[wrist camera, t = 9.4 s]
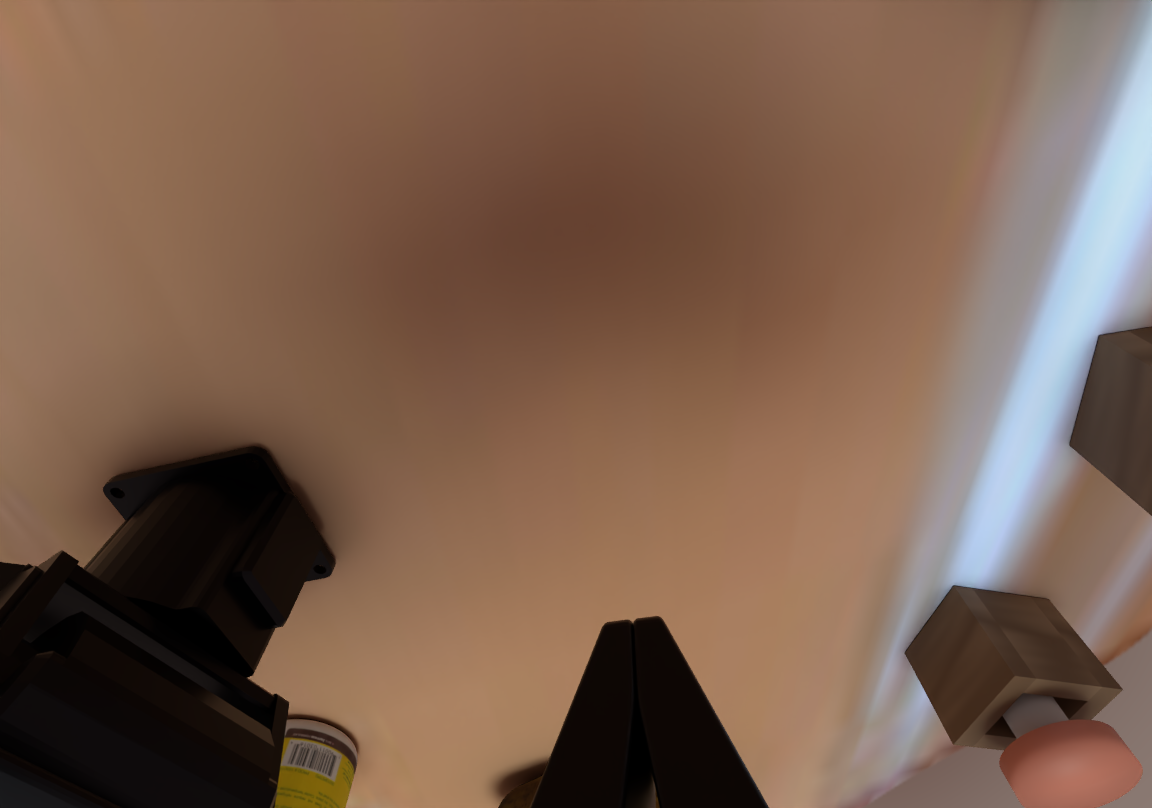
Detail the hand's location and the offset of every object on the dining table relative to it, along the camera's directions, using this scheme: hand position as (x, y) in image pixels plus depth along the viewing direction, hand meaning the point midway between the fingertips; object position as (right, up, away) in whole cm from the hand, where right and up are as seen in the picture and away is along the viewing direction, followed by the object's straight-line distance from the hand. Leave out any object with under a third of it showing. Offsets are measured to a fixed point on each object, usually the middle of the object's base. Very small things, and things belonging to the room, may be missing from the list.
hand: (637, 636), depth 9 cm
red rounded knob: (+17, -8, +18) cm, 26 cm away
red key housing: (+17, -7, +20) cm, 27 cm away
